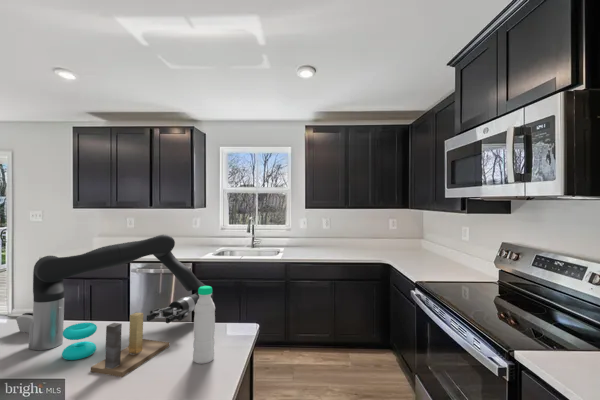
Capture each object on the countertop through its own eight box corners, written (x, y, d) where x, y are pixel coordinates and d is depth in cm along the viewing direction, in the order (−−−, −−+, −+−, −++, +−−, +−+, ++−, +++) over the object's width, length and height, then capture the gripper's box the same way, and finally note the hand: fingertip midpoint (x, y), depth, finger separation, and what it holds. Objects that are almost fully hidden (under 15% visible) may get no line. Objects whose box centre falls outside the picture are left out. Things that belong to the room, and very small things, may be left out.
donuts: (83, 320, 119) (103, 323, 117) (82, 347, 119) (102, 351, 116) (55, 329, 110) (77, 333, 107) (54, 359, 110) (76, 363, 107)
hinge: (60, 332, 133) (53, 311, 130) (49, 340, 129) (41, 319, 126) (32, 327, 138) (24, 307, 135) (20, 334, 134) (12, 314, 131)
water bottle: (218, 356, 113) (219, 285, 114) (206, 366, 106) (207, 290, 107) (201, 353, 115) (203, 283, 116) (188, 362, 109) (190, 288, 109)
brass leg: (135, 349, 114) (136, 312, 114) (142, 350, 113) (143, 313, 114) (128, 352, 111) (129, 315, 112) (136, 353, 110) (137, 315, 111)
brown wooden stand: (142, 342, 124) (143, 304, 124) (169, 346, 121) (170, 307, 121) (90, 371, 101) (92, 325, 102) (122, 377, 99) (123, 329, 99)
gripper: (167, 297, 141) (141, 308, 125) (196, 300, 137) (173, 311, 122) (167, 314, 140) (140, 327, 125) (196, 317, 137) (172, 331, 121)
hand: (157, 319), depth 123 cm, fingers open, 8 cm apart
